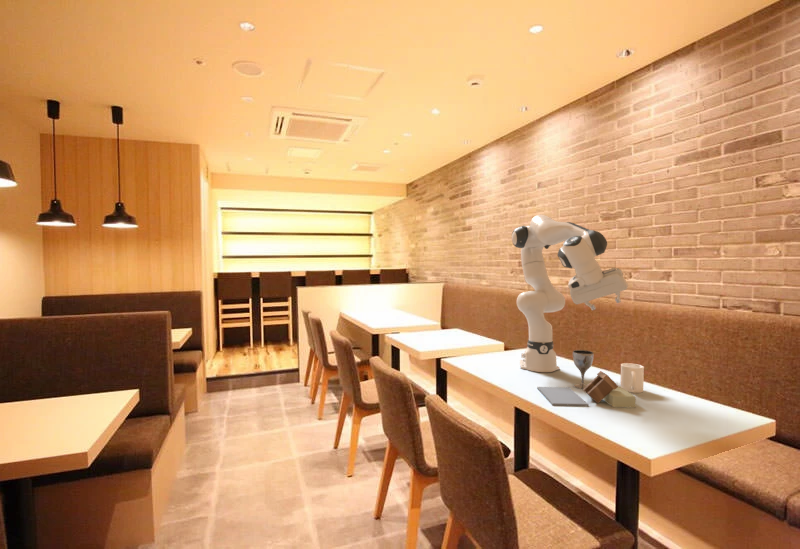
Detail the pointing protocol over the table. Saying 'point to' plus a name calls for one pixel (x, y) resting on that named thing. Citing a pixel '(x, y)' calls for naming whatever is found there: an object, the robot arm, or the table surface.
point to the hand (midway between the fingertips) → (606, 305)
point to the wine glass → (582, 363)
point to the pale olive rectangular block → (620, 398)
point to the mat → (562, 396)
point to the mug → (632, 377)
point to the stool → (600, 387)
